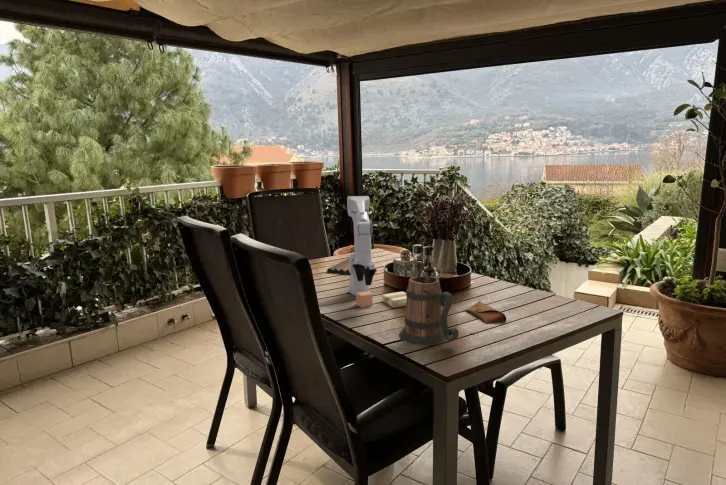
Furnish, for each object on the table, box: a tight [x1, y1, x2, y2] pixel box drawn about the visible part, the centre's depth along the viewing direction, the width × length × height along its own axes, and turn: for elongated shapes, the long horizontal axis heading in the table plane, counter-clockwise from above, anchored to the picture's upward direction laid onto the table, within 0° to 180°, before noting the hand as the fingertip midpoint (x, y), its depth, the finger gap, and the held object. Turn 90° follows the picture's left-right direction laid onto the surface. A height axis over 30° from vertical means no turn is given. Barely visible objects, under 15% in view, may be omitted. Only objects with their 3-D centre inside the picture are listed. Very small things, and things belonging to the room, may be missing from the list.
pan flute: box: [326, 258, 378, 276], centre depth 265 cm, size 25×3×25 cm
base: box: [381, 290, 407, 309], centre depth 205 cm, size 10×10×3 cm
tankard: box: [398, 276, 460, 346], centre depth 163 cm, size 24×17×20 cm
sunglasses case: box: [463, 300, 507, 325], centre depth 188 cm, size 18×7×7 cm
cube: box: [355, 291, 373, 308], centre depth 202 cm, size 5×5×5 cm
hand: (364, 282), depth 201 cm, fingers open, 7 cm apart
